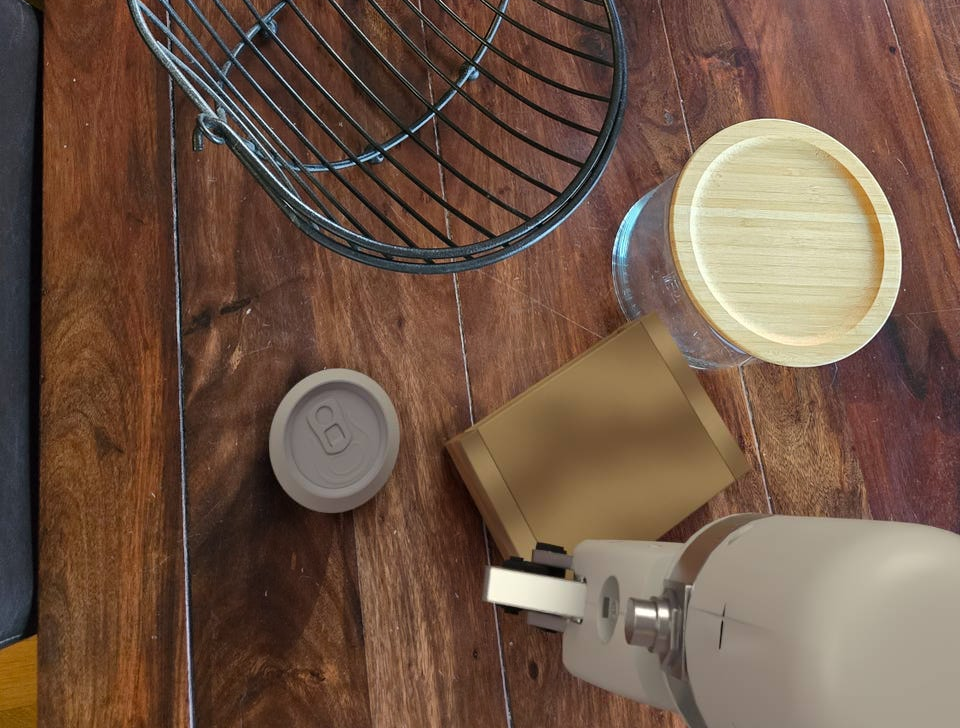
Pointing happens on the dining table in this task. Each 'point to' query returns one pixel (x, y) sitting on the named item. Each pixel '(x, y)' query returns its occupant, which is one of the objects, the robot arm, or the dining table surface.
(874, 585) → the robot arm
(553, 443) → the gold flanged block
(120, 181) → the dining table surface
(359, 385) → the beverage can
